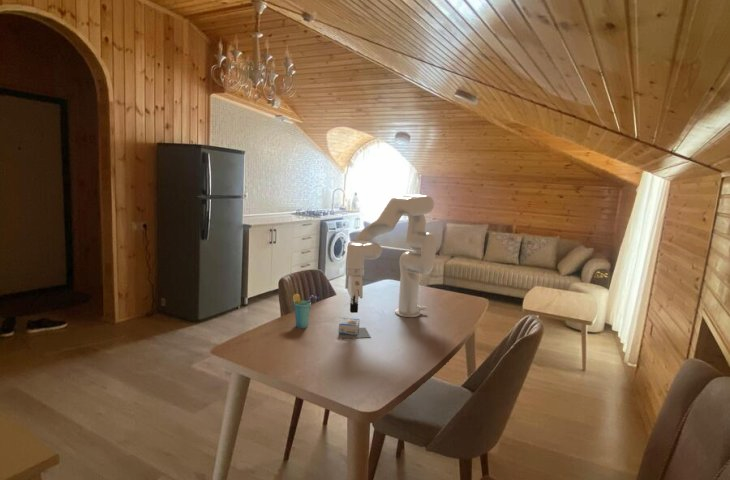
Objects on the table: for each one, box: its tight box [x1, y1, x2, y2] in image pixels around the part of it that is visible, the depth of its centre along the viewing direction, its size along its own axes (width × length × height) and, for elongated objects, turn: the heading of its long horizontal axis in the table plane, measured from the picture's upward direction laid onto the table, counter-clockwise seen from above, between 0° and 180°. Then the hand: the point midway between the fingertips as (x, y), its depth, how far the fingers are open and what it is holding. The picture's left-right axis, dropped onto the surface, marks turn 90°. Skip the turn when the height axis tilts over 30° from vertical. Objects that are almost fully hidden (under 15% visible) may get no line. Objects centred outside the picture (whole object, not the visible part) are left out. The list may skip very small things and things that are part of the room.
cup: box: [292, 293, 319, 329], centre depth 173 cm, size 14×8×15 cm, turn 67°
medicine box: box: [338, 317, 360, 335], centre depth 170 cm, size 8×4×9 cm
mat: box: [340, 327, 372, 340], centre depth 169 cm, size 12×11×1 cm
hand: (353, 311), depth 173 cm, fingers closed
